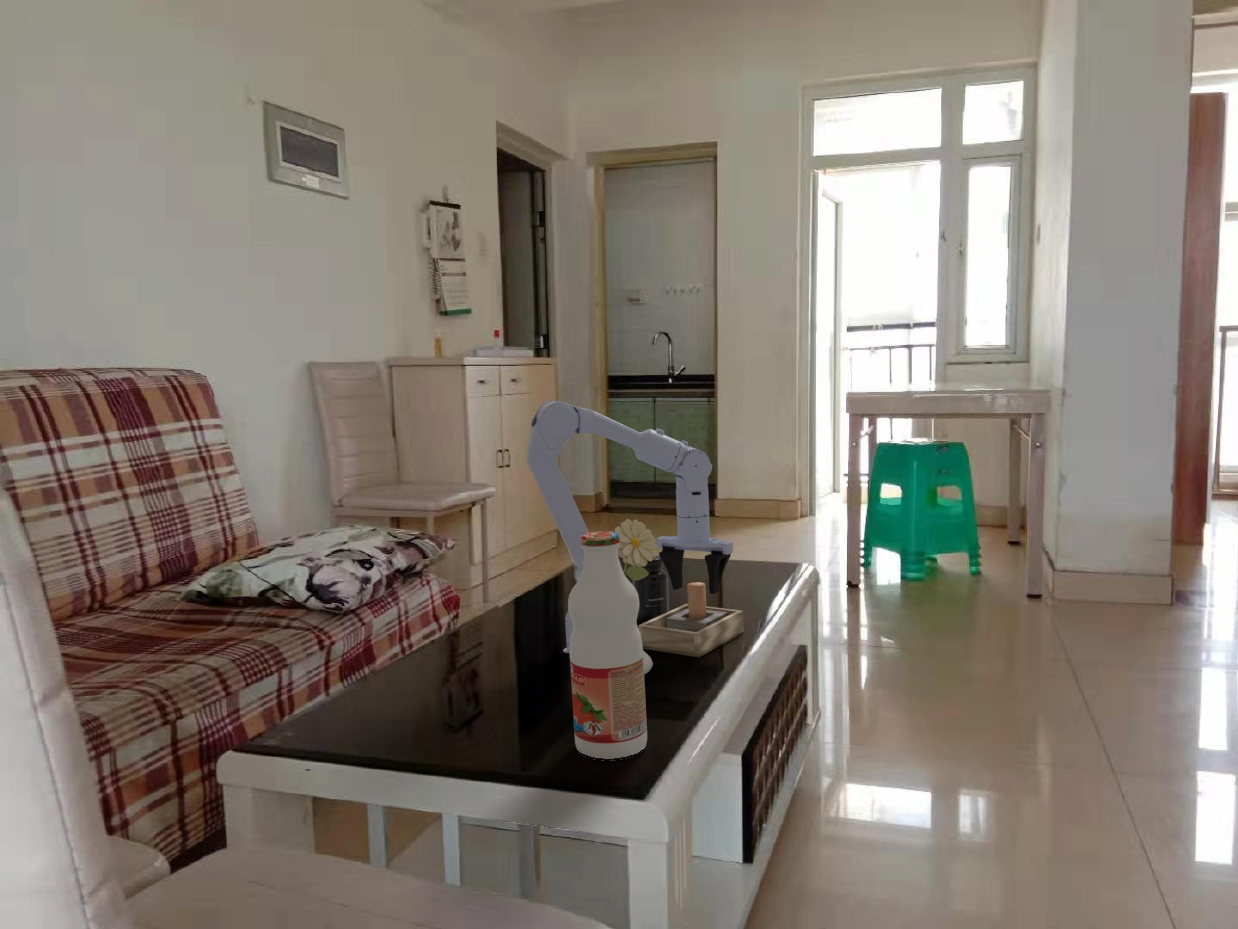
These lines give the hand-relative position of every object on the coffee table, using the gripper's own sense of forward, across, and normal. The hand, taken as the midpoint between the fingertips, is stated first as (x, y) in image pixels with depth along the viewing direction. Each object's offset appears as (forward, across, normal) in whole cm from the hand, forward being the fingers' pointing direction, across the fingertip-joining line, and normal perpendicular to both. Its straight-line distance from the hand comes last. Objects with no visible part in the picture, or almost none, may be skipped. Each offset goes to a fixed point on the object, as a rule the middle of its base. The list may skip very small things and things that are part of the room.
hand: (695, 590), depth 166 cm
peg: (+8, 0, 0) cm, 8 cm away
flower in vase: (+9, 0, +23) cm, 25 cm away
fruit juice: (+9, -15, +47) cm, 50 cm away
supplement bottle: (+9, +14, -7) cm, 18 cm away
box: (+8, 0, +2) cm, 9 cm away
